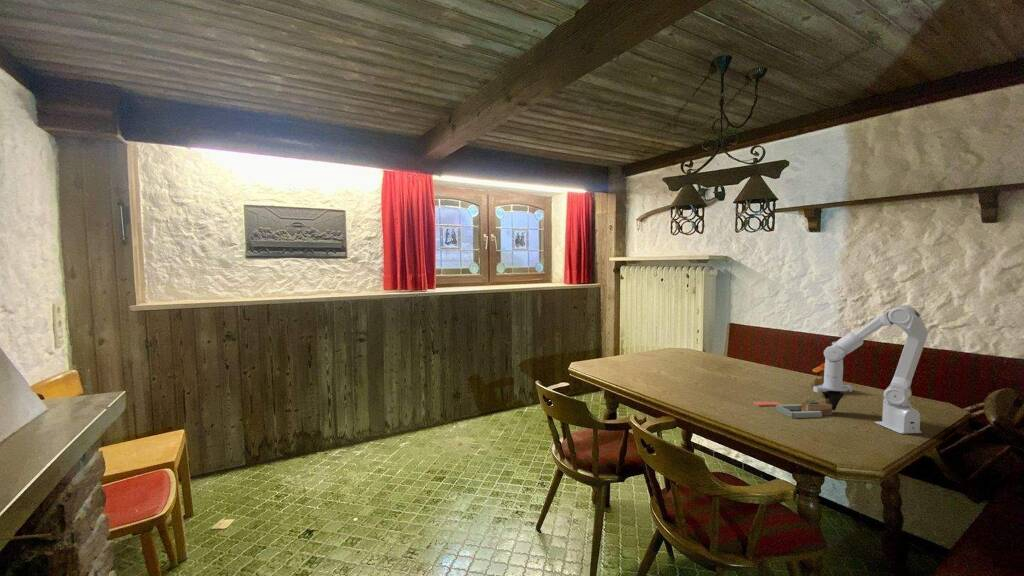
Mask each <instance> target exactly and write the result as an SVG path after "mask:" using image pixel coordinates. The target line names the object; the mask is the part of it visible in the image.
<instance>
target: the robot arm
mask: <svg viewBox="0 0 1024 576" xmlns="http://www.w3.org/2000/svg"><path fill="white" fill-rule="evenodd" d="M893 325H896V326H898V327H900V328H901V329H902V330H903V332H905V334H907V337H906V339H905V343H904V346H903V349H902V352H901V354H900V358H899V361H898V364H897V366H896V368H895V372H894V375H893V377H892V379H891V382H890V384H889V385H888V386H887V388H886V389H885V390H884V391H883V401H882V414H881V420H879V421H878V420H877V421H874V423H875V424H877V425H880V427H885V428H886V429H889V430H891V431H893V432H896V433H898V434H922V431H921V428H920V427H921V413H920V411H918V410H917V409H916V408H913V406H912V403H911V402H910V401H909V399H910V398H911V396H912V389H911V385H912V382H913V377H914V375H915V372H916V369H917V367H918V366H917V365H918V363H919V361H920V358H921V355H922V352H923V350H924V346H925V344H926V342H927V339H928V335H929V330H928V329H927V326H926V324H925V322H924V320H923V318H922V316H921V313H919V311H917V310H916V309H915V308H914V307H912V306H910V305H907V304H902V305H898V306H896V307H893V308H892V309H890V310H888V311H887V312H885V313H882V314H880V315H878V316H876V317H875V318H874V319H872V320H870V321H869V322H868V323H867V324H865V325H864V326H863V327H862V328H860V329H858V331H856V332H852V331H851V332H850V331H849V332H848V333H847V332H845V333H843V334H842V336H841V338H839V339H838V340H837V341H833V342H832V343H831V345H830V346H827V347H826V348H825V349H824V350H823V357H824V359H825V360H824V363H825V368H824V384H823V385H820V386H813V388H812V391H813V392H815V393H817V394H819V393H821V394H822V395H823V397H824V399H829V404H831V405H832V411H836V409H837V407H838V404H839V402H840V401H841V399H842V398H844V395H845V394H844V393H843V392H853V386H851V385H849V384H847V385H846V384H845V385H843V374H844V358H845V357H846V355H849V354H850V353H852V352H854V351H855V350H856V349H858V348H859V347H861V346H862V345H863V344H864V339H865V338H867V337H869V336H870V335H871V334H873V333H875V332H876V331H878V330H880V329H881V328H883V327H888V326H893Z"/></svg>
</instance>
